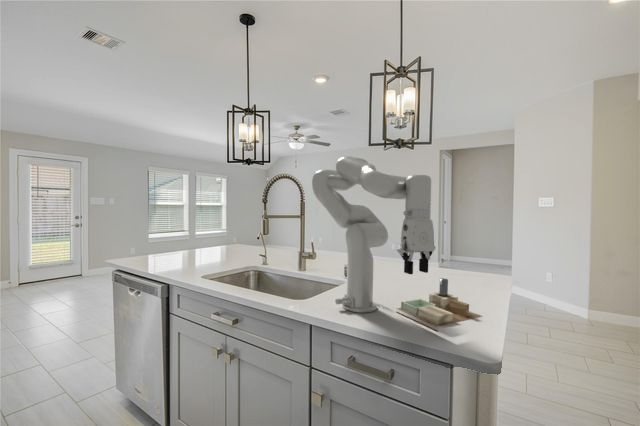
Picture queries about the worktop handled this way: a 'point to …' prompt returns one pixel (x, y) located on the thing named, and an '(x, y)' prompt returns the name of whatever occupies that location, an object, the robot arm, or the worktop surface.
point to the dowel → (443, 287)
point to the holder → (441, 300)
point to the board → (456, 307)
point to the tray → (415, 305)
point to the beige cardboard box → (435, 315)
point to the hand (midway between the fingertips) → (416, 272)
